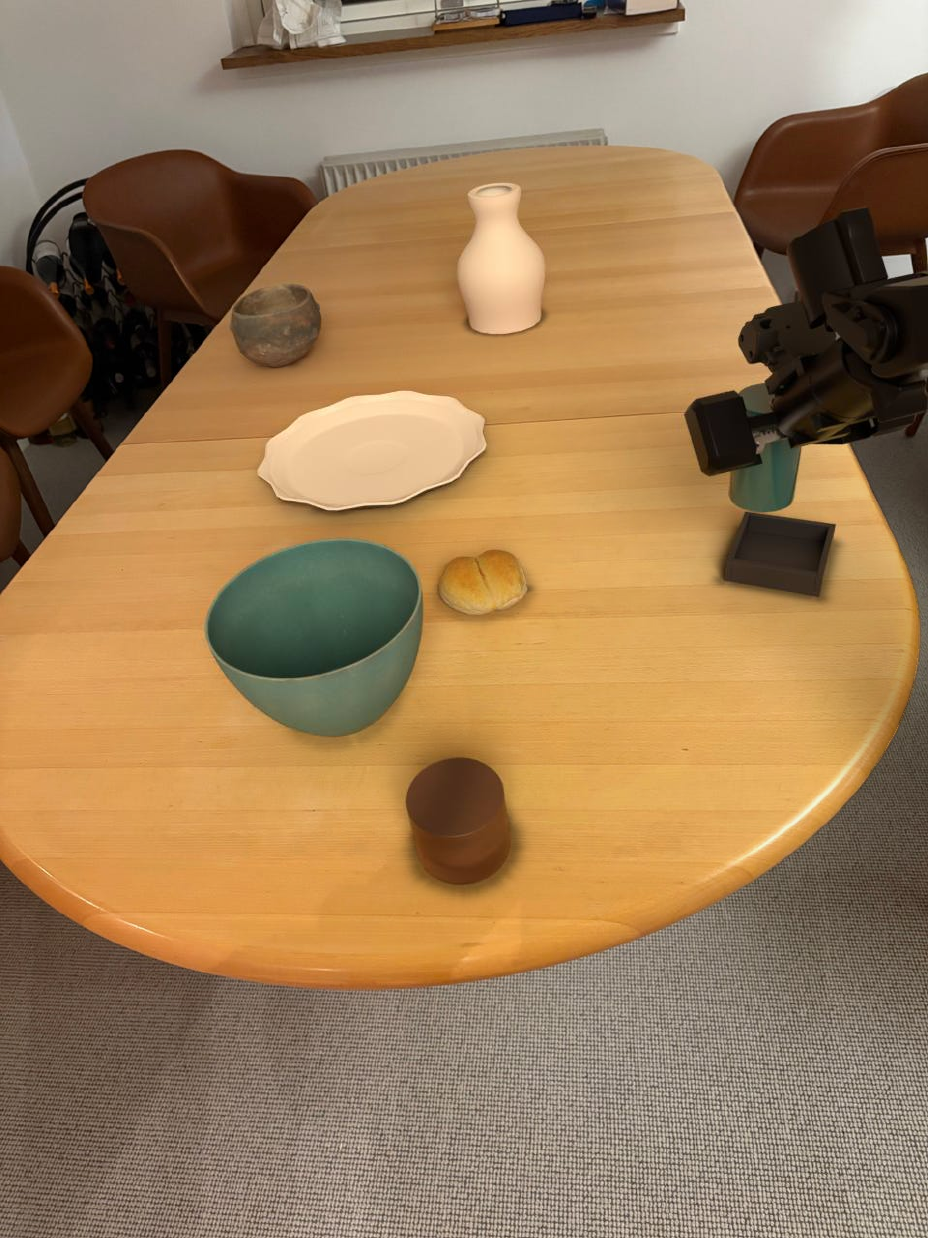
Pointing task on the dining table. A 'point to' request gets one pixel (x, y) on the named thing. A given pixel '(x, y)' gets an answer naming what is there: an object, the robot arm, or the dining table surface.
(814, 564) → the dark square tray
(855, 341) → the robot arm
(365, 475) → the plate
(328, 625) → the teal bowl
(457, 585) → the bread roll
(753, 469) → the teal cylinder
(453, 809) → the stand
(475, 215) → the vase
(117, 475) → the dining table surface
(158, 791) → the dining table surface
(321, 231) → the dining table surface
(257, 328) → the bowl
